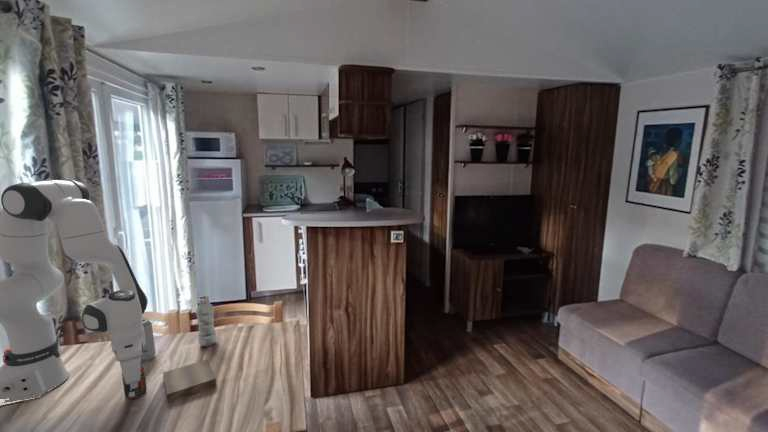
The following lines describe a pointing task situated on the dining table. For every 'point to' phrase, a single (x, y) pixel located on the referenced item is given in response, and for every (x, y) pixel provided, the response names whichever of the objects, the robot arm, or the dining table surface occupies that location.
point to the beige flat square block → (188, 380)
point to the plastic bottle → (206, 322)
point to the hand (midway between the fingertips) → (134, 381)
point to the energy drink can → (148, 341)
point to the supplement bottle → (137, 391)
